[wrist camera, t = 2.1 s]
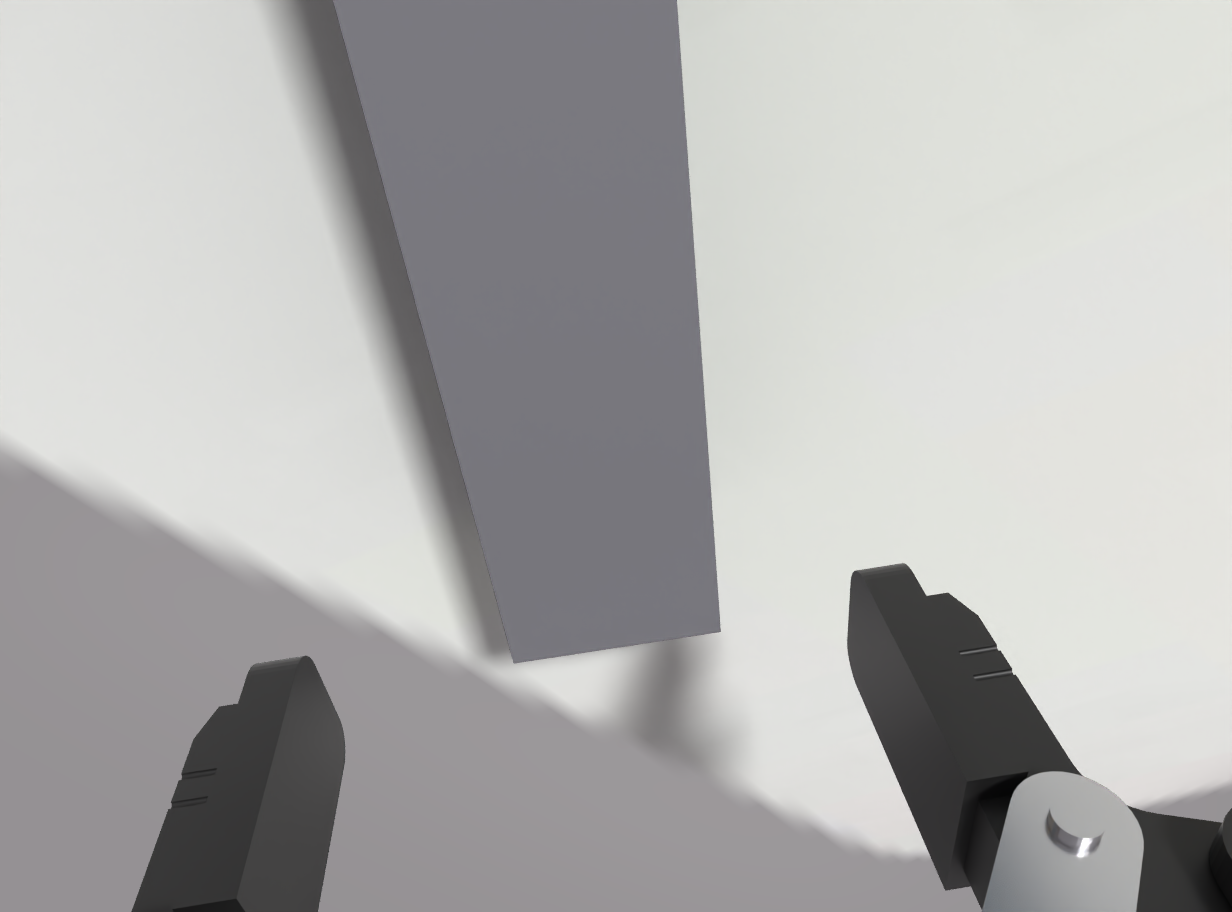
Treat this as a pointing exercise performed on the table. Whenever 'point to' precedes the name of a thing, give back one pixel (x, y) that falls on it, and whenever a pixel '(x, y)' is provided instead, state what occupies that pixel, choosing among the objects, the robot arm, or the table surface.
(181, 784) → the robot arm
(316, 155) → the table surface
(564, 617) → the bar
